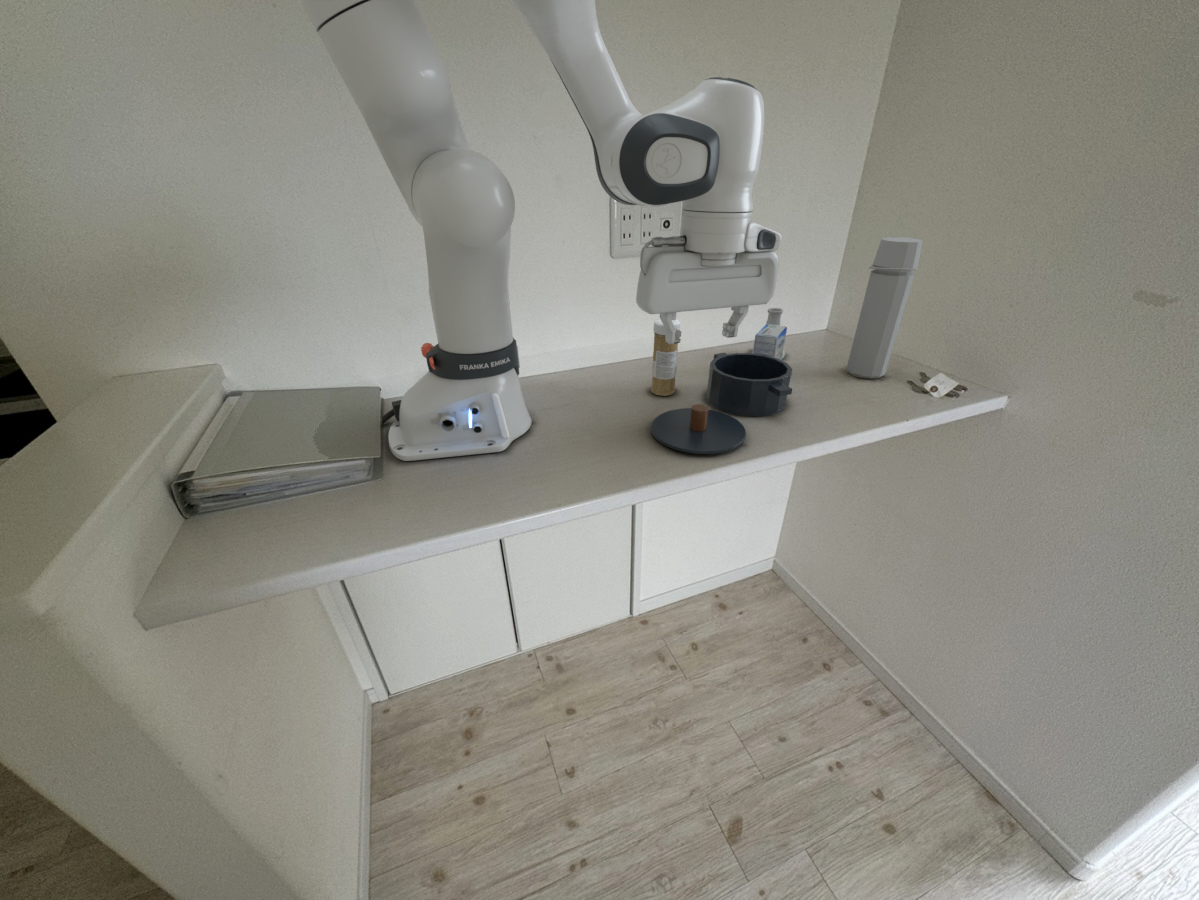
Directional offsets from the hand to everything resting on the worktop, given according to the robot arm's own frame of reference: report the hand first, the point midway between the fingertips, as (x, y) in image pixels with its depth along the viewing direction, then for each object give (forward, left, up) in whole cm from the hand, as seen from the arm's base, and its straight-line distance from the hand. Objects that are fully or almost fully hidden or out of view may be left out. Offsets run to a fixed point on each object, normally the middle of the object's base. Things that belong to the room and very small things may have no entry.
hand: (701, 339), depth 71 cm
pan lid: (+1, -1, -15) cm, 15 cm away
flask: (+34, +25, -16) cm, 45 cm away
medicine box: (+27, +17, -16) cm, 36 cm away
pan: (+15, +7, -15) cm, 23 cm away
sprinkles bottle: (+3, +16, -16) cm, 23 cm away
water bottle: (+45, +9, -16) cm, 49 cm away
